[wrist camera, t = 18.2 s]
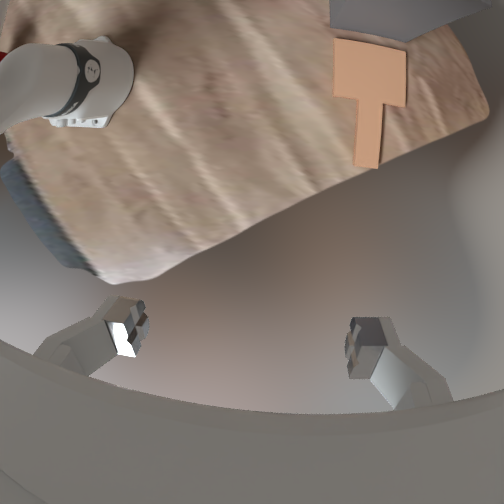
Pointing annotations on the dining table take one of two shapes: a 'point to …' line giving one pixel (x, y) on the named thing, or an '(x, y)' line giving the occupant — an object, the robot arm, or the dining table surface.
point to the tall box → (400, 15)
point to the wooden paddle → (368, 90)
